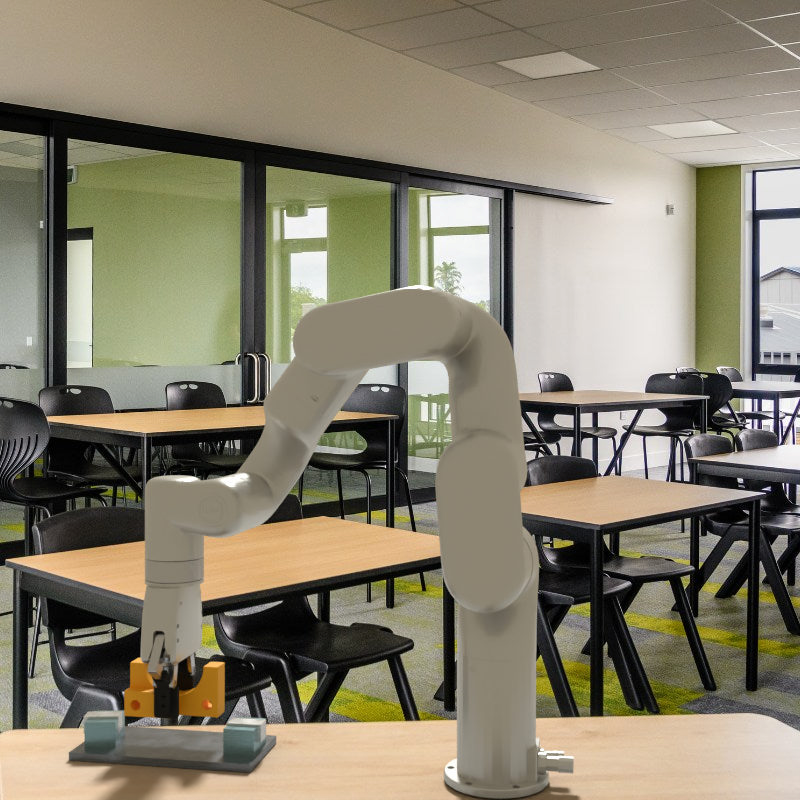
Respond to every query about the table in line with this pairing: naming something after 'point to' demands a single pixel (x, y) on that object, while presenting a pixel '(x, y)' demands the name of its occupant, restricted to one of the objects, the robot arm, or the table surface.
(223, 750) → the workpiece vise
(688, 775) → the table surface
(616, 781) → the table surface
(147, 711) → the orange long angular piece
